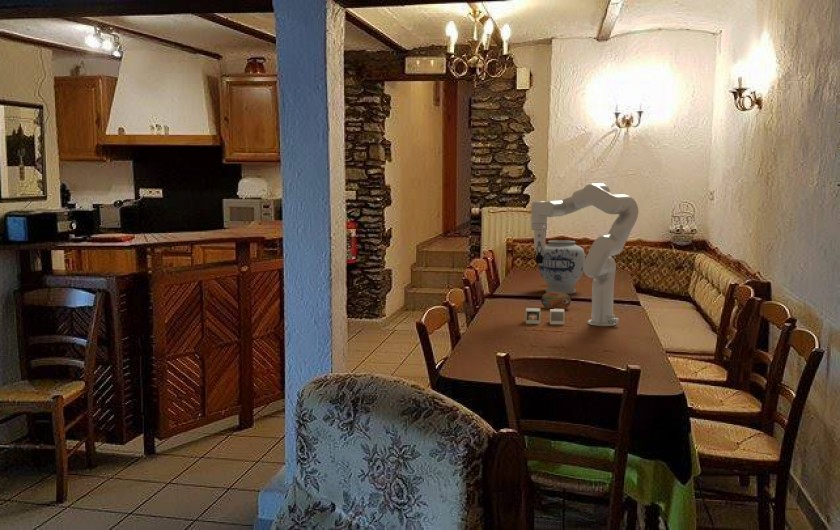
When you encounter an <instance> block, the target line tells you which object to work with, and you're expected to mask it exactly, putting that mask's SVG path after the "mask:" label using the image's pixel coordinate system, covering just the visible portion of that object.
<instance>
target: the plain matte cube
mask: <svg viewBox="0 0 840 530" xmlns="http://www.w3.org/2000/svg"><path fill="white" fill-rule="evenodd" d="M529 313H538V314H537V320H529ZM525 324H527V325H528V324H529V325H530V324H531V325H533V324H535V325H536V324H537V325H540V324H541V308H538V307H535V308H534V307H531V308H529V307H525Z"/></svg>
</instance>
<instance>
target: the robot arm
mask: <svg viewBox="0 0 840 530" xmlns="http://www.w3.org/2000/svg"><path fill="white" fill-rule="evenodd" d="M530 205H531V207H530V208H531V209H530V211H531V212H530V213H531V216H530V217H531V218H530V219H531V221H530V222H531V224H530V225H531V227H530V229H531V231H533V243H534V251H535V252H536V253H535V264H539V263H543V255H542V249H543V250H544V251H545V246H546V231H547V230H548V218H553V217H563V216H566V215H569V214H573V213H575V212H577V211H581V210H582V209H586V208H588V207H591V206H592V207H595V208H596V209H598V210H600V211H602V212H604V213H605V214H607V215H618V216H617V217H616V219H615V220H614V222H613V223H612V225H611V228H610V229H609V231H608V232H607V233H606V234H604V235H600V236H598V237H597V238H596V239H595V240H594V241H593V243H592V244H591V246H590V247H589V248H590V249H589V250H588V253H587V254H586V256H585V261H584V264H583V270H584V271H583V274H584V275H585V276H587V277H588V278H591V279H592V285H591V315H590V316H591V317H590V319H588V320H587V324H588V325H591V326H596V327H613V326H616V325H617V324H619V322H620V318H618V317H616V314H614V293H615V291H614V288H615V284H614V283H615V277H616V272H617V264H616V261H615V259H614V257H613V256H617V255H619V254H621V252H622V251H623V249H624V247H625V244H626V242H627V240H628V238H629V237H630V234H631V232H632V230H633V228H634V226H635V224H636V222H637V219H638V217H639V207H638V204H637V202H636V199H635V198H633V197H632V196H630V195H629V194H613V193H611V190H610V188H609V186H608V185H606V184H604V183H602V182H601V183H600V182H599V183H588V184H586V185H585V186H584V187H583V188H582V189H579V190H576V191H573V193H572V195H571V196H570V197H565V198H564V199H563V198H562V199H560V200H547V201H544V200H543V201H542V200H540V201H539V200H534V201H532V203H531V204H530Z"/></svg>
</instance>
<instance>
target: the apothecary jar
mask: <svg viewBox="0 0 840 530" xmlns="http://www.w3.org/2000/svg"><path fill="white" fill-rule="evenodd" d="M547 242H548V244H545V251H544V250H543V249H542V255H543V263H538V270H539V273H540V276H541V277H542V278H543V280H544V282H545V283H546V285H547V286H548V287H547V288H546V289H545V293H547V292H554V293H566V294H568V295H572V294H576V292H577V290H576V289H575V288H574V287H575V285H576V283H578V282H579V280H580V278H582V275H583V274H584V270H583V264H584V261H585V259H586V255H585V250H584V248H583V247H581V246H579V245H577V244H576V241H575V240H567V239H566V240H565V239H564V240H561V239H560V240H556V239H555V240H553V239H552V240H548V241H547Z"/></svg>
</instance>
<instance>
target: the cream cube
mask: <svg viewBox="0 0 840 530" xmlns="http://www.w3.org/2000/svg"><path fill="white" fill-rule="evenodd" d="M549 324H550V325H565V309H549Z"/></svg>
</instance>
